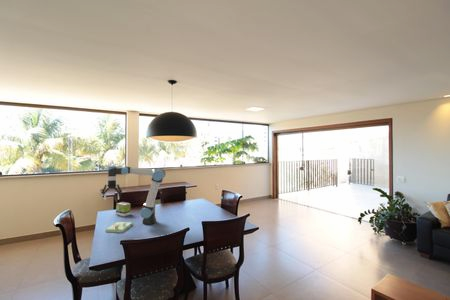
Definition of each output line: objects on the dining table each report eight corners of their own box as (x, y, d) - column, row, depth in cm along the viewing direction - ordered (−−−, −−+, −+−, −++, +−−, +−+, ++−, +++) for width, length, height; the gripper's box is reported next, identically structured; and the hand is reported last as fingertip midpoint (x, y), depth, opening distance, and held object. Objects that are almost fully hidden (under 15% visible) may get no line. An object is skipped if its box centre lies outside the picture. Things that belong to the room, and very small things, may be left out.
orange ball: (119, 228, 215) (119, 224, 215) (117, 229, 211) (117, 226, 211) (115, 228, 215) (115, 224, 215) (113, 229, 211) (114, 225, 211)
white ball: (126, 225, 224) (126, 222, 224) (124, 226, 220) (124, 223, 220) (123, 225, 224) (123, 222, 224) (121, 226, 220) (121, 223, 220)
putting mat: (132, 225, 233) (132, 222, 233) (122, 232, 211) (122, 229, 211) (117, 224, 233) (117, 221, 234) (105, 231, 211) (105, 229, 212)
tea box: (115, 214, 268) (115, 203, 268) (122, 212, 277) (122, 201, 277) (123, 216, 261) (124, 204, 262) (130, 214, 271) (130, 203, 271)
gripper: (125, 179, 231) (125, 198, 231) (101, 179, 227) (101, 199, 227) (123, 180, 223) (122, 200, 223) (98, 180, 220) (97, 200, 219)
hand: (111, 199), depth 225 cm, fingers open, 13 cm apart
